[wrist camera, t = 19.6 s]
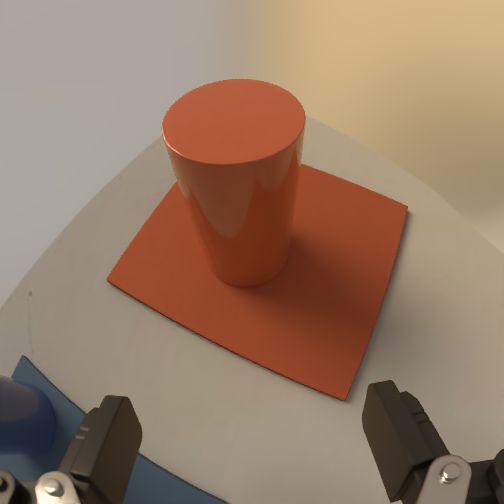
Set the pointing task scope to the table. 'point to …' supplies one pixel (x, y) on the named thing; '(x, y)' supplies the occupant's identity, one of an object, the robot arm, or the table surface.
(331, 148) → the table surface
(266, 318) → the terracotta mat
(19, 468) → the blue mat
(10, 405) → the blue canister
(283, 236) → the terracotta canister
